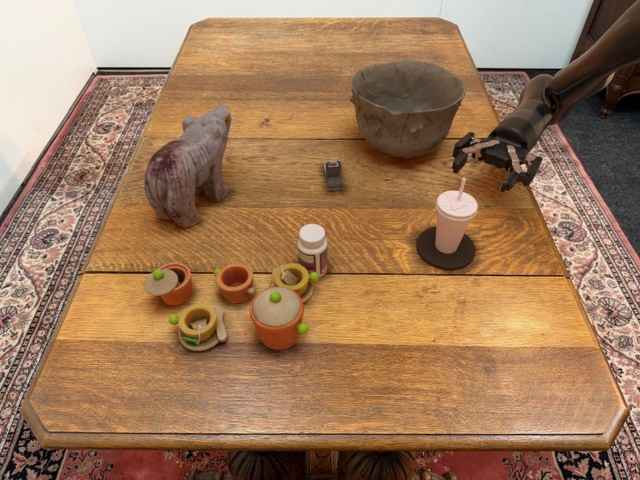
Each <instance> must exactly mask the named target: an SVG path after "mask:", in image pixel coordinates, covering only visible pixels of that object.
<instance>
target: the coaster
mask: <svg viewBox="0 0 640 480" xmlns="http://www.w3.org/2000/svg"><path fill="white" fill-rule="evenodd" d="M435 241H436V226H432V227H428V228H426V229H424V230H423V231H422V232H420V234H419V235H418V236H417V238H416V241H415V249H416V252H417V254H418V256H419V257H420V258H421V259H422V261H423V262H425V263H426V264H428V265H429V266H431V267H433V268H436V269H439V270H443V271H458V270H461V269H464V268H466V267H468V266H469V265H470V264H472V262H473V261H474V259H475V256H476V253H477V252H476V251H477V249H476V245H475V243H474V241H473V240H472V238H471V237H470V236H469V235H468V234H466V232H465V233H464V235H463V237H462V239H461V241H460V243H459V246H458V248H457V250H456V251H455V252H453V253H443V252H441V251H439V250H438V249H437V248H436V246H435Z"/></svg>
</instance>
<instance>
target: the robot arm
mask: <svg viewBox="0 0 640 480" xmlns="http://www.w3.org/2000/svg"><path fill="white" fill-rule="evenodd" d="M636 64H640V0H636V1H635V2H634V3H633V4H632V5H630V7H629V8H628V9H626V10H625V12H624V13H622V14H621V16H620V17H619V18H618V19H617V20H616V21H614V23H613V24H612V25H611V26H610V28H609V29H607V30H606V32H605V33H604V34H603V35H601V37H600V38H599V39H598V40H597V41H596V42H595V43H594V44H593V45H592V46H591V47H590V48H589V49H588V50H587V51H585V52H584V53H583V54H581V55H580V56H579V57H578V58H576V59H574V60H573V61H571V62H570V63H569V64H567V65H566V66H564V67H562V69H560V70H559V71H557V72H556V73H555V75H554V76H553V75H550V74H547V73H542V74H538V75H536V76H534V77H533V78H530V80H529V81H528V82H527V83H525V84H526V85H525V86H524V87H523V88H522V90H521V92H520V95H519V98H518V101H517V105H516V107H515V109H514V110H513V111H511V112H510V113H509V114H507V115H506V116H505V117H504V118H503V119H502V120H501V121H500V123H498V125H496V127H495V128H494V129H493V130H492V131H491V132H490V133H489V134H488V136H487V137H483V138H482V139H480V138H477V137H475V136H476V133H475V132H473V131H469V132H467V133H466V134H465V135H463V136H462V137H461V138H460V139H459V140H458V141H457V142H456V143H454V146H453V149H452V155H451V157H452V158H453V160H452V165H451V169H452V173H454V174H456V175H457V174H458V173H459V172H460V171H461V170H463V168H464V167H465V166H466V164H470V163H473V164H474V165H477V164H481V163H484V164H486V165H490V166H494V167H495V168H497V169H503V171H504V173H505V176H506V177H505V178H504V180H503V181H502V183H501V186H500V190H499V192H500V193H502V194H505V193H506V192H510V191H512V190H513V188H515V186H516V184H519V183H521V184H522V185H523V186H524V187H529V186H531V184H532V183H533V180H534V179H535V177H536V175H537V174H538V172H539V170H540V167H541V165H542V162H543V160H544V158H543V157H542V156H539V155H537V156H535V158H532V157H530V156H528V154H530V152H531V151H532V149H533V148H535V147H536V145H537V144H538V142H539V140H540V139H541V137H542V136H543V134H544V133H545V132H546V130H547V129H548V128H549V126H550V127H551V126H557V125H558V124H561V123H562V122H564V121H565V120H566V119H567V118H568V117H569V116H570V115H571V113H572V112H573V111H574V109H575V108H576V106H577V105H578V104H580V103H581V102H582V101H585V100H586V99H589V98H590V97H592V96H594V95H595V94H598V93H599V92H601V90H603V89H604V88H606V87H607V86H608V85H609V84H610V83H611V81H612V80H613V78H614V76H615V73H616V72H618V71H620V70H622V69H624V68H627V67H630V66H633V65H636ZM523 165H525V168H526V171H523V169H522V167H521V166H523Z"/></svg>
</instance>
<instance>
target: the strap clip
mask: <svg viewBox="0 0 640 480" xmlns="http://www.w3.org/2000/svg"><path fill="white" fill-rule="evenodd" d="M341 169H342V165H341V161H340V160H328V161H326V162H325V163H324V164H323V171H324V175H325V177H326V185H327V189H328V191H329V192H333V191H334V192H335V191H342V190H344V189H343V188H344V185H343V181H342V179H341V172H342V171H341Z"/></svg>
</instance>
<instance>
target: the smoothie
mask: <svg viewBox="0 0 640 480" xmlns="http://www.w3.org/2000/svg"><path fill="white" fill-rule="evenodd" d="M466 181H467V178H466V177H462V179H461V183H460V185H459V190H447V191H444V192H442V193H440V194H439V195H438V196H437V199H436V202H435V208H436V212H437V213H436V225H435V227H436V241H435V246H436V248H437V249H438V250H439V251H441V252H443V253H453V252H455V251H456V250H457V248H458V246H459V243H460V241H461V239H462V237H463V235H464V233H465V234H466V231H467V229H468V227H469V225H470V223H471V222H472V221H471V220H472V219H473V218H475V216H476V215H477V212H478V208H479V205H478V202H477V200H476V199H475V198H474V197H473V196H472V195H471V194H469V193H467V192H464V189H465V186H466Z"/></svg>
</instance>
